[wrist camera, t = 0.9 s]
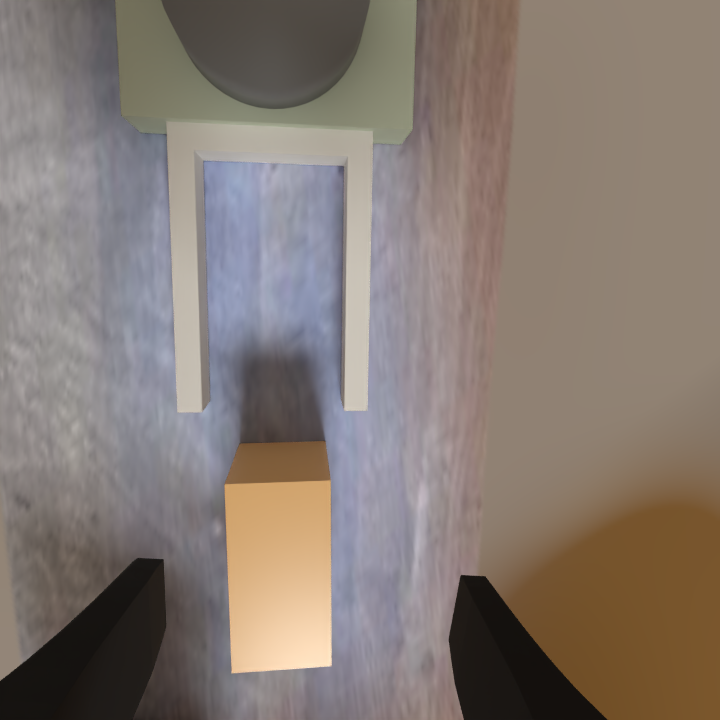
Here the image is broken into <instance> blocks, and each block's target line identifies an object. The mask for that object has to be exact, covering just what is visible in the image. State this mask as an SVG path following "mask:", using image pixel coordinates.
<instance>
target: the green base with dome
mask: <svg viewBox="0 0 720 720" xmlns="http://www.w3.org/2000/svg"><path fill="white" fill-rule="evenodd" d="M115 6H116V25H117V45H118V64H119V84H120V103H121V116H122V117H123V118H124V119H126V120H127V121H128V122H129V123H130V124H131V125H132V126H134V127H135V128H136V129H137V130H138V131H139V132H141V133H153V134H167V153H168V179H169V205H170V231H171V256H172V282H173V308H174V334H175V360H176V386H177V412H178V413H183V412H203V410H204V409H205V407H206V406H207V405H208V403H209V402H210V379H209V344H208V309H207V273H206V238H205V203H204V167H203V161H227V162H252V163H277V164H302V165H327V166H344V203H343V283H342V363H341V401H342V405H343V408H344V411H367V402H368V353H369V305H370V257H371V209H372V161H373V143H375V144H397V145H401V144H402V143H403V141H404V140H405V139H406V138H407V136H408V135H409V134H410V132H411V131H412V130H413V100H414V69H415V38H416V7H417V0H115Z"/></svg>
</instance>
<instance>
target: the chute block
mask: <svg viewBox="0 0 720 720" xmlns="http://www.w3.org/2000/svg"><path fill="white" fill-rule="evenodd" d="M225 509H226V535H227V561H228V587H229V613H230V639H231V665H232V673H243V672H257V671H271V670H284V669H298V668H312V667H326V666H331V480H330V472H329V465H328V457H327V450H326V442H325V441H310V442H275V443H241V444H239V447H238V449H237V452H236V455H235V457H234V460H233V463H232V466H231V468H230V471H229V474H228V476H227V479H226V482H225Z"/></svg>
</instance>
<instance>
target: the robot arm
mask: <svg viewBox="0 0 720 720" xmlns="http://www.w3.org/2000/svg"><path fill="white" fill-rule="evenodd" d="M165 629H166V608H165V583H164V559H145V558H137V559H136V560H135V561H133V562H132V563H131V564H130V565H129V566H128V567H127V568H126V569H125V570H124V571H123V572H122V573H121V574H120V575H119V576H118V577H117V578H116V579H115V580H114V581H113V582H112V583H111V584H110V585H109V586H108V587H107V588H106V589H105V590H104V591H103V592H102V593H101V594H100V595H99V596H98V597H97V598H96V599H95V600H94V601H93V602H92V603H91V604H90V605H88V606H87V607H86V608H85V609H84V610H83V611H82V612H81V613H80V614H79V615H78V616H77V617H76V618H74V619H73V620H72V621H71V622H70V623H69V624H68V625H67V626H66V627H65V628H64V629H62V630H61V631H60V632H59V633H58V634H57V635H56V636H54V637H53V638H52V639H51V640H50V641H49V642H47V643H46V644H45V645H44V646H43V647H42V648H40V649H39V650H38V651H37V652H36V653H35V654H33V655H32V656H31V657H30V658H29V659H27V660H26V661H25V662H24V663H22V664H21V665H20V666H19V667H17V668H16V669H15V670H14V671H12V672H11V673H10V674H9V675H7V676H6V677H5V678H3V679H2V680H1V681H0V720H132V719H133V716H134V714H135V712H136V709H137V707H138V705H139V702H140V700H141V698H142V695H143V693H144V691H145V688H146V686H147V683H148V681H149V679H150V676H151V674H152V671H153V668H154V665H155V662H156V659H157V656H158V652H159V649H160V646H161V642H162V639H163V635H164V632H165ZM449 645H450V653H451V661H452V667H453V674H454V681H455V686H456V690H457V694H458V698H459V702H460V706H461V710H462V714H463V718H464V720H607V719H606V718H605V717H604V716H603V715H602V714H601V713H600V712H599V711H598V710H597V709H596V708H595V707H594V706H593V705H592V704H591V703H590V702H589V701H588V700H587V699H586V698H585V697H584V696H583V695H582V694H581V693H580V692H579V691H578V690H577V689H576V688H575V687H574V686H573V685H572V684H571V683H570V681H569V680H568V679H567V678H566V677H565V676H564V675H563V674H562V673H561V671H560V670H559V669H558V668H557V667H556V666H555V665H554V663H553V662H552V661H551V660H550V659H549V658H548V656H547V655H546V654H545V653H544V652H543V651H542V649H541V648H540V647H539V646H538V644H537V643H536V642H535V641H534V640H533V638H532V637H531V636H530V635H529V633H528V632H527V631H526V630H525V628H524V627H523V626H522V624H521V623H520V622H519V621H518V619H517V618H516V617H515V615H514V614H513V613H512V611H511V610H510V609H509V607H508V606H507V605H506V604H505V602H504V601H503V599H502V598H501V597H500V596H499V594H498V593H497V591H496V590H495V589H494V587H493V586H492V585H491V583H490V582H489V581H488V579H487V578H486V577H485V576H468V575H461V576H460V582H459V587H458V592H457V598H456V603H455V608H454V613H453V619H452V624H451V629H450V635H449Z"/></svg>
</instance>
